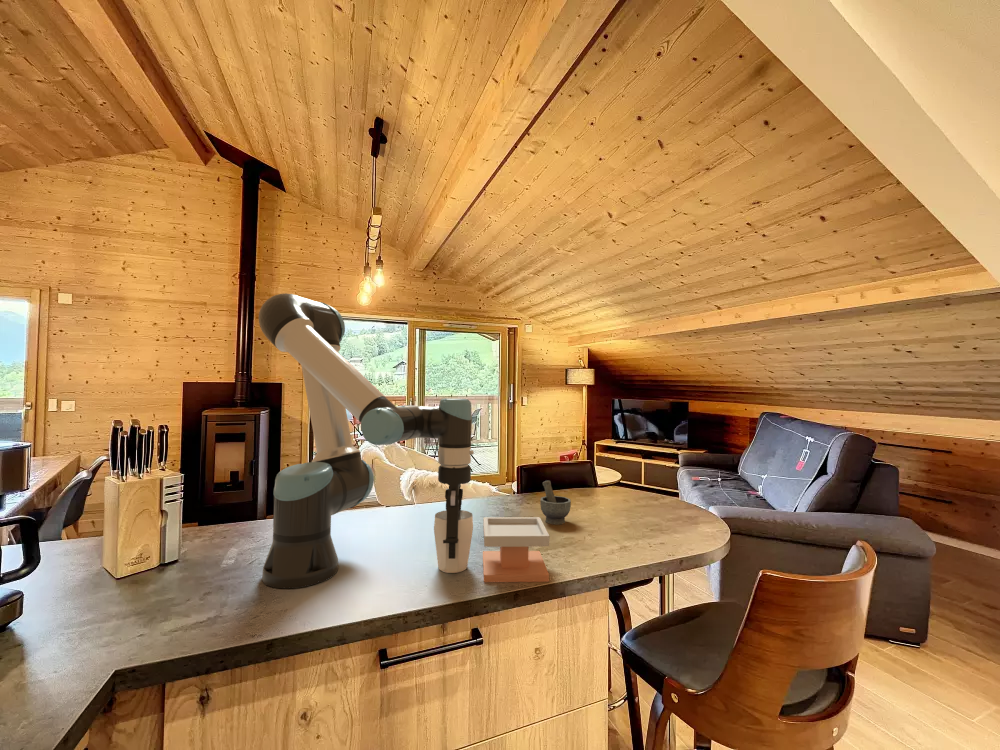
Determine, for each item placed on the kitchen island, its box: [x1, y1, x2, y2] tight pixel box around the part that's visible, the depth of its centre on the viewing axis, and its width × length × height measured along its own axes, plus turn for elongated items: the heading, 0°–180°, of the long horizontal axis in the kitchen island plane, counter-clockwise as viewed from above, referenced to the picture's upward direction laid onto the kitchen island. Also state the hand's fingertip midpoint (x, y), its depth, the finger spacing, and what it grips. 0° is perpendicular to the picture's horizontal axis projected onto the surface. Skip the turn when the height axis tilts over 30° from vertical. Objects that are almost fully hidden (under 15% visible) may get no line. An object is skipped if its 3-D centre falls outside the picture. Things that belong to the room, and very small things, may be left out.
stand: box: [482, 516, 550, 583], centre depth 102 cm, size 14×14×10 cm
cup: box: [433, 509, 474, 573], centre depth 102 cm, size 9×9×12 cm
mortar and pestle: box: [539, 480, 572, 526], centre depth 139 cm, size 11×9×12 cm
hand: (452, 563), depth 102 cm, fingers closed on cup, 9 cm apart
